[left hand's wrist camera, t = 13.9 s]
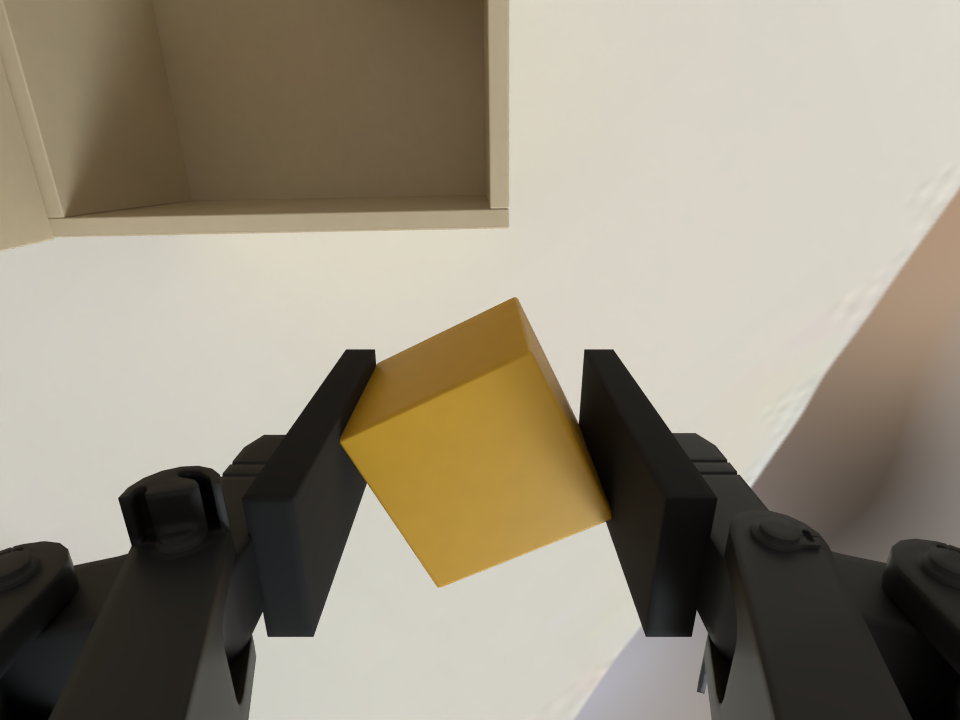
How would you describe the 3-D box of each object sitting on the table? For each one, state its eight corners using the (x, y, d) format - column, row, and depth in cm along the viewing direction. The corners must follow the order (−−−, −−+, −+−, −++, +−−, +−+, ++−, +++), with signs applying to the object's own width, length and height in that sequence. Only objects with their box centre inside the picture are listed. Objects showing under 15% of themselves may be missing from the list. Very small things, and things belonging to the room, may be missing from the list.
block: (516, 295, 14) (531, 349, 10) (579, 425, 15) (615, 519, 11) (375, 363, 14) (336, 440, 10) (447, 482, 16) (438, 590, 12)
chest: (496, -49, 25) (509, -176, 16) (498, 207, 30) (509, 228, 20) (136, -41, 25) (-70, -165, 16) (188, 213, 30) (50, 237, 20)
